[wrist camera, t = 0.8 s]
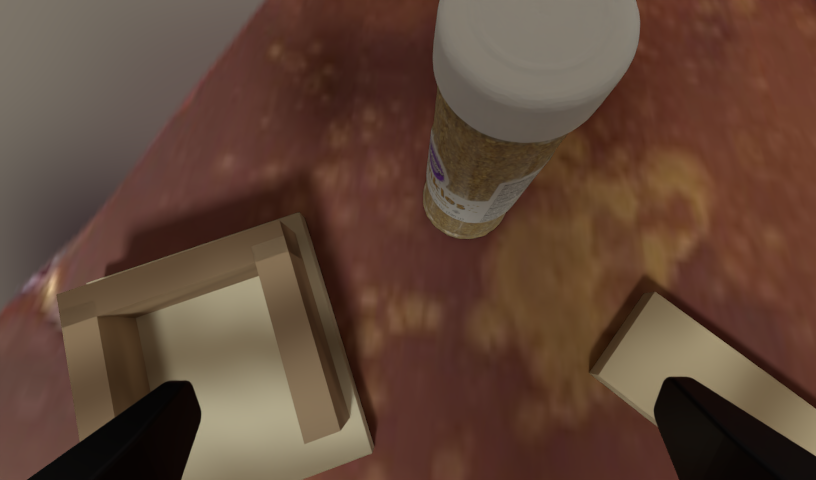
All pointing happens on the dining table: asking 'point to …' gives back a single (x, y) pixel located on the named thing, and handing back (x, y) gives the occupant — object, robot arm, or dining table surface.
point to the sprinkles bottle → (514, 96)
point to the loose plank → (695, 369)
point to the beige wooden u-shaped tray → (224, 353)
